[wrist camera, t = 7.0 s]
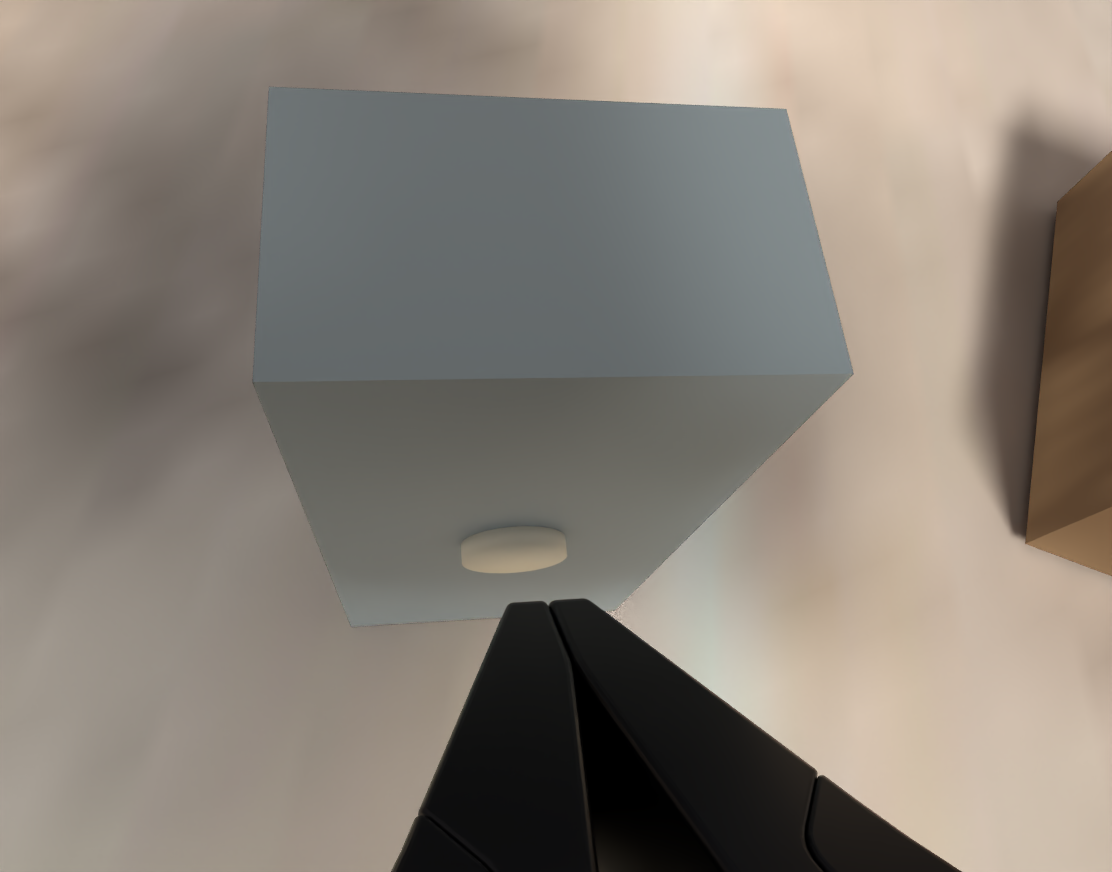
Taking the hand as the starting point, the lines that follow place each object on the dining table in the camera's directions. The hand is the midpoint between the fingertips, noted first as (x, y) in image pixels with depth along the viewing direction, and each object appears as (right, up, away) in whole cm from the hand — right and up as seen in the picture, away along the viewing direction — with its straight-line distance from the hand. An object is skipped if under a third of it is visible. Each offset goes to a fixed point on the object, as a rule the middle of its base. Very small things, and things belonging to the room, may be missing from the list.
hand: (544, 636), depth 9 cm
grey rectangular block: (-1, 0, +8) cm, 8 cm away
